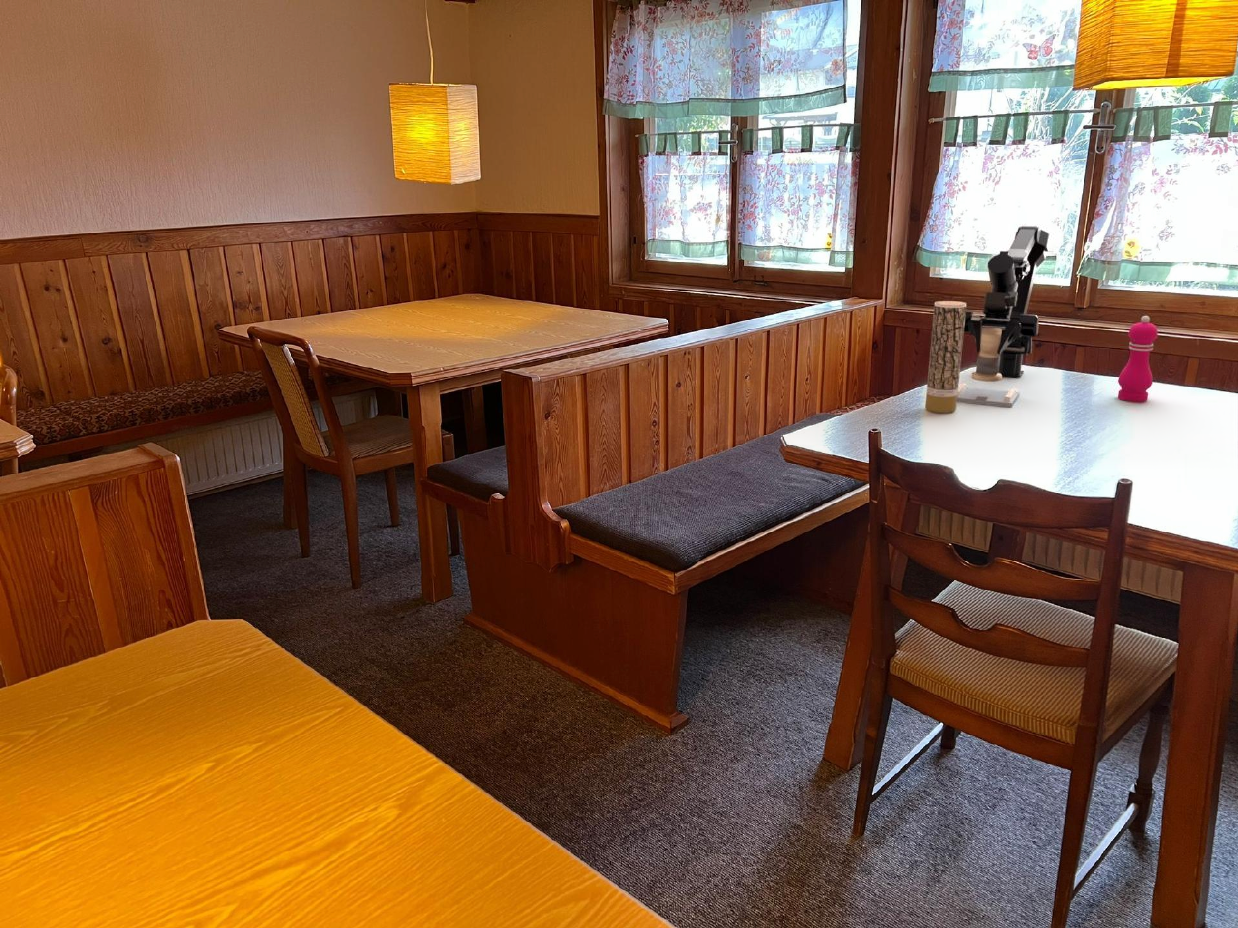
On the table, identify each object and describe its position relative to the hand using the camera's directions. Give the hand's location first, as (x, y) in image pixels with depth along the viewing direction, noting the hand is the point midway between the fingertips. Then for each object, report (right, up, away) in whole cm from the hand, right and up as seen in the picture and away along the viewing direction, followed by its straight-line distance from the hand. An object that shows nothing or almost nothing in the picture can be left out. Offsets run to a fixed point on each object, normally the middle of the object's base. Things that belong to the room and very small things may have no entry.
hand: (988, 352), depth 216 cm
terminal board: (+1, -11, +6) cm, 12 cm away
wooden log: (-13, -14, -4) cm, 20 cm away
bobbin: (+1, -6, +3) cm, 7 cm away
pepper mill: (+36, -11, +3) cm, 38 cm away
